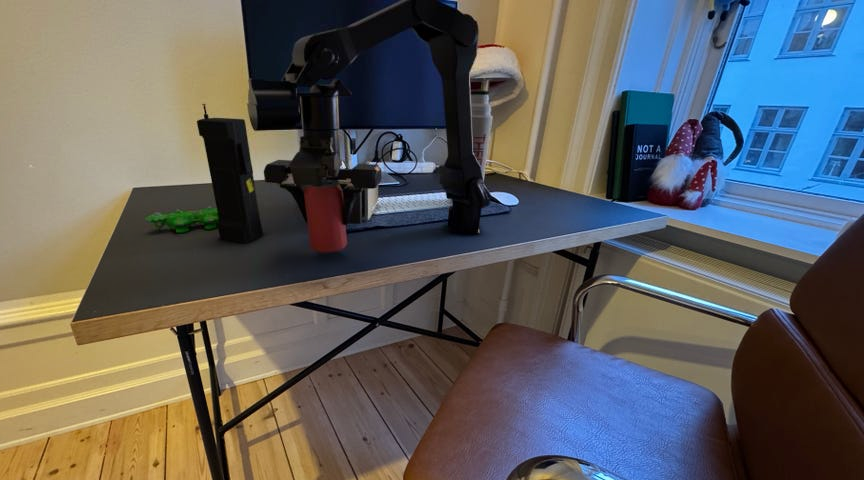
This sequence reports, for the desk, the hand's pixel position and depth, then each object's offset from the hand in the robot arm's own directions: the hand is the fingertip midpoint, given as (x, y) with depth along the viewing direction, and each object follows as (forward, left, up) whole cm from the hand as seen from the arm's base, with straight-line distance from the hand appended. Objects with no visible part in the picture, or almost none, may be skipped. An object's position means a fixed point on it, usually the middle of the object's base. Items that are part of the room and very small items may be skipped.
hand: (326, 222), depth 65 cm
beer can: (0, 0, -5) cm, 5 cm away
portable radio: (+20, -6, -7) cm, 22 cm away
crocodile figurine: (+33, -9, -7) cm, 35 cm away
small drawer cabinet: (+3, -28, -7) cm, 29 cm away
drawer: (+3, -20, -6) cm, 21 cm away
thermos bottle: (-26, -43, -7) cm, 51 cm away
